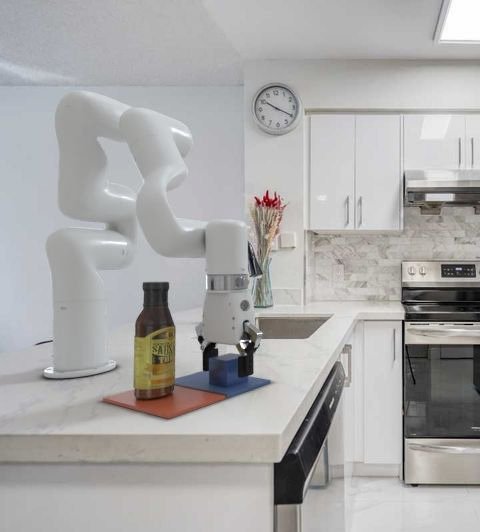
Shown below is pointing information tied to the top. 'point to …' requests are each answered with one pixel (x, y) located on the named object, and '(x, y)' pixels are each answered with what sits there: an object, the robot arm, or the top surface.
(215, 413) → the top surface
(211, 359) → the blue block
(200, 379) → the sorting board
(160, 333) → the sauce bottle
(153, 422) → the top surface
